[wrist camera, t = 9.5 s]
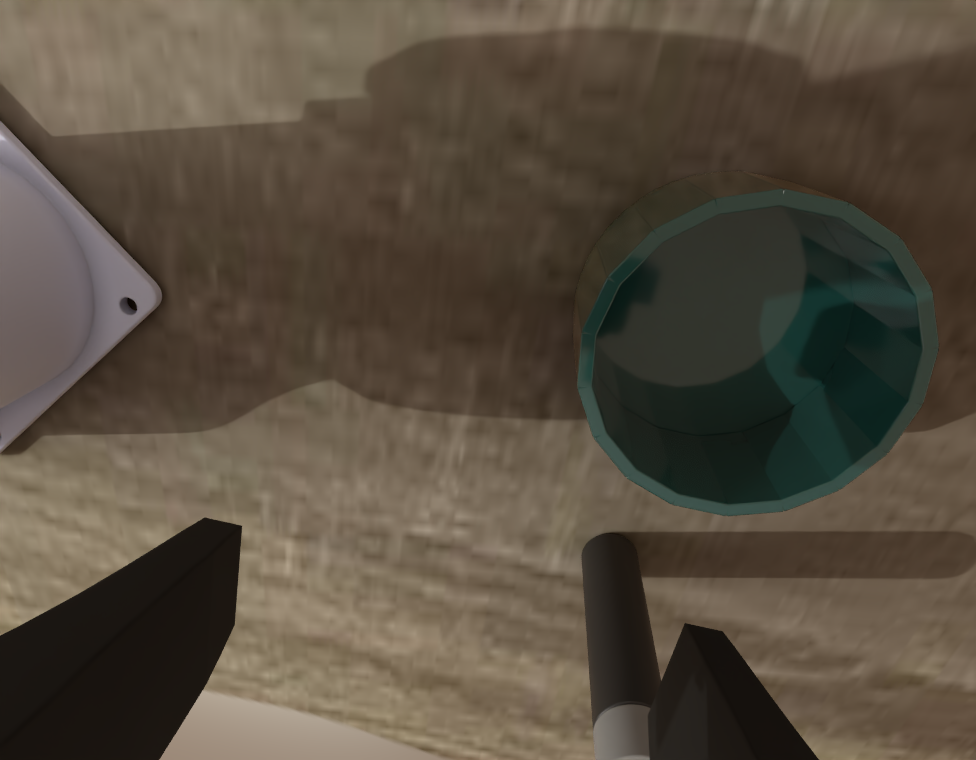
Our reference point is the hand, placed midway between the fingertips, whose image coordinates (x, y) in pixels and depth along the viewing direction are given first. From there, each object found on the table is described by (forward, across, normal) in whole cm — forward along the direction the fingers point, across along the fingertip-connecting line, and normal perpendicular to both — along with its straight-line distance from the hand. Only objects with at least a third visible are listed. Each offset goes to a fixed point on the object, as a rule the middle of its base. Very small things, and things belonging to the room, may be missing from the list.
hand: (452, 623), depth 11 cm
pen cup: (+10, -6, -3) cm, 12 cm away
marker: (+10, -5, +5) cm, 13 cm away
